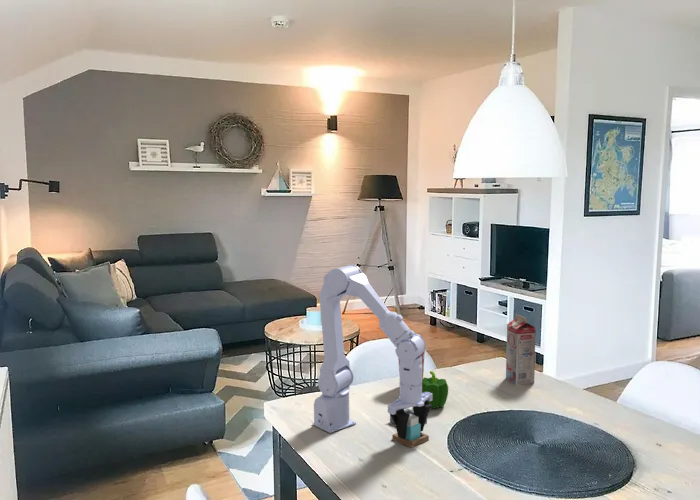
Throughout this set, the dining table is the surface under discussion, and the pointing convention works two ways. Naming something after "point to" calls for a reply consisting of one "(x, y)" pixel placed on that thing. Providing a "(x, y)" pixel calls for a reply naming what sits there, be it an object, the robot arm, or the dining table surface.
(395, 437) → the wooden square frame
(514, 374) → the juice carton
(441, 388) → the bell pepper
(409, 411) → the port
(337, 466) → the dining table surface
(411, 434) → the plug
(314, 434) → the dining table surface
